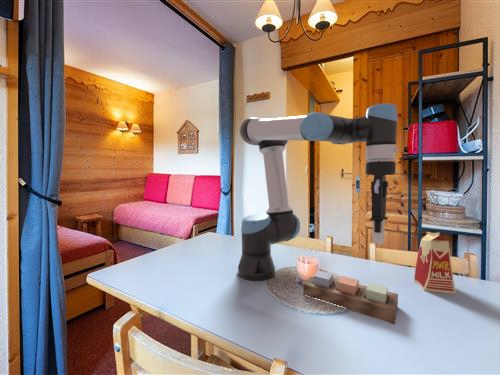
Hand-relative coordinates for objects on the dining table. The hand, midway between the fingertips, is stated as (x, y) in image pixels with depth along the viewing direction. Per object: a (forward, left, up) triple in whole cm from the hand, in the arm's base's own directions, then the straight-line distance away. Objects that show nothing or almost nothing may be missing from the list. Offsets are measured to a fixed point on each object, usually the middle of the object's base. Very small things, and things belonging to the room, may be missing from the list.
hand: (378, 242), depth 70 cm
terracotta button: (-8, 0, -18) cm, 20 cm away
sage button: (0, 0, -18) cm, 18 cm away
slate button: (-16, 0, -18) cm, 24 cm away
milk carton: (+14, +27, -21) cm, 37 cm away
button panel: (-8, 0, -20) cm, 22 cm away
